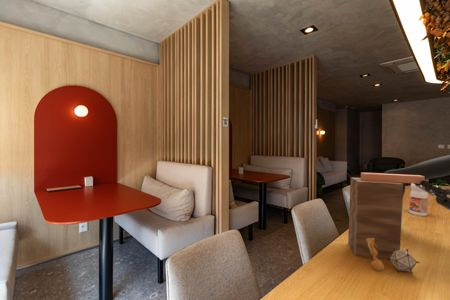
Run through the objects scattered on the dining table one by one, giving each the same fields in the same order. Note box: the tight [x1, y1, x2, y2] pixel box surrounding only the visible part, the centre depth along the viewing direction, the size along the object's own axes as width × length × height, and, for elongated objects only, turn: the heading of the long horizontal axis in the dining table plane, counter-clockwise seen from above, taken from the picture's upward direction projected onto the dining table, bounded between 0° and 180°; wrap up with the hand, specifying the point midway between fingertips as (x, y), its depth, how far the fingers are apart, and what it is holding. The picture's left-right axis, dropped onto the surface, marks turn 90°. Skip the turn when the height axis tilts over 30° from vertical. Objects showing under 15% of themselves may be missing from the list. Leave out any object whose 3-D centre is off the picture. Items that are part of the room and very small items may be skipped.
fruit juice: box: [408, 183, 429, 217], centre depth 154 cm, size 9×9×28 cm
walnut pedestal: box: [347, 176, 404, 262], centre depth 99 cm, size 12×16×32 cm
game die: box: [387, 248, 421, 274], centre depth 85 cm, size 9×8×10 cm
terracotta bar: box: [360, 172, 425, 184], centre depth 96 cm, size 4×22×3 cm, turn 73°
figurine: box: [366, 238, 385, 272], centre depth 86 cm, size 8×6×12 cm
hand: (415, 180), depth 94 cm, fingers open, 8 cm apart
